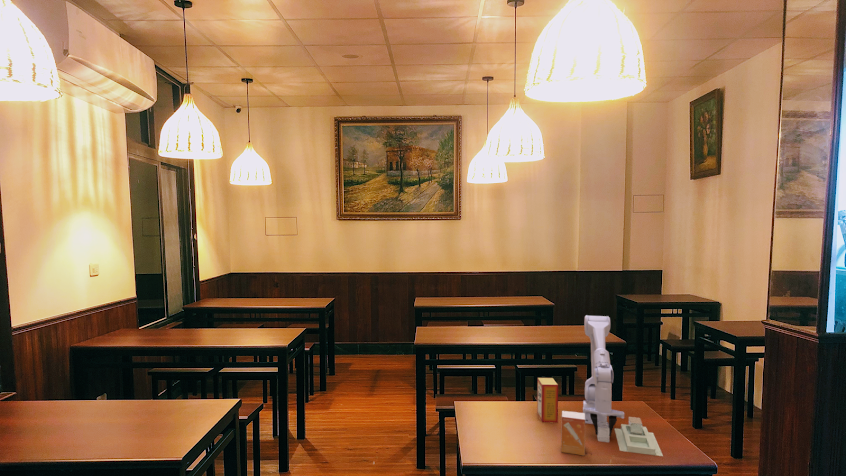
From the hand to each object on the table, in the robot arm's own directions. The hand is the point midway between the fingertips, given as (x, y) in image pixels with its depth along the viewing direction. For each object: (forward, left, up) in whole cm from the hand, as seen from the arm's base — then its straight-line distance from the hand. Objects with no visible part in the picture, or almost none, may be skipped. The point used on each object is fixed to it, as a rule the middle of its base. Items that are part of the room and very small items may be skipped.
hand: (603, 434), depth 178 cm
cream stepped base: (+12, +1, -2) cm, 12 cm away
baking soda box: (-21, +16, -2) cm, 27 cm away
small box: (-11, -12, -2) cm, 16 cm away
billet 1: (0, 0, -2) cm, 2 cm away
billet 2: (+12, +6, -1) cm, 13 cm away
